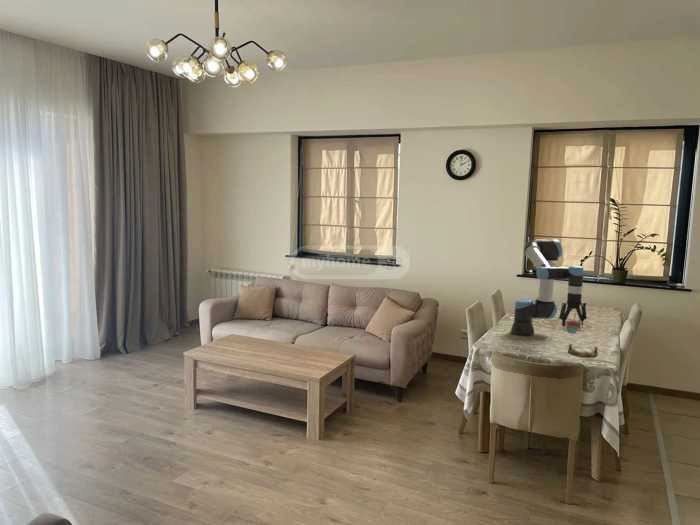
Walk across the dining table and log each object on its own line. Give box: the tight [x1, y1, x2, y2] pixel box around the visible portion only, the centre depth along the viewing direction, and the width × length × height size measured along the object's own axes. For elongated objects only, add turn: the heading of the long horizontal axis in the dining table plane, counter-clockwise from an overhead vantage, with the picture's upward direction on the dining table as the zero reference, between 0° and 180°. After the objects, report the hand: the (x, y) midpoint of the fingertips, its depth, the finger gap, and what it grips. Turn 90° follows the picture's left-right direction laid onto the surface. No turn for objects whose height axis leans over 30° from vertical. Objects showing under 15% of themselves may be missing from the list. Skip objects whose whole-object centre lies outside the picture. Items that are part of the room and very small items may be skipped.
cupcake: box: [566, 312, 580, 334], centre depth 304 cm, size 9×8×12 cm
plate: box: [567, 343, 599, 358], centre depth 313 cm, size 16×16×4 cm
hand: (571, 331), depth 305 cm, fingers closed on cupcake, 8 cm apart
